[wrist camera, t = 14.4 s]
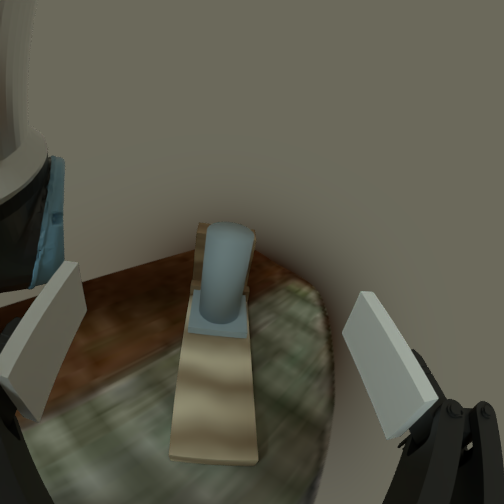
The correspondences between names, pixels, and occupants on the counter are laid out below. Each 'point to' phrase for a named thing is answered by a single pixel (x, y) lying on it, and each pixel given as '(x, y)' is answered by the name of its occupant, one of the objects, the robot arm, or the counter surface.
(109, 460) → the counter surface
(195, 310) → the grey cylinder on base
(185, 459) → the rail
